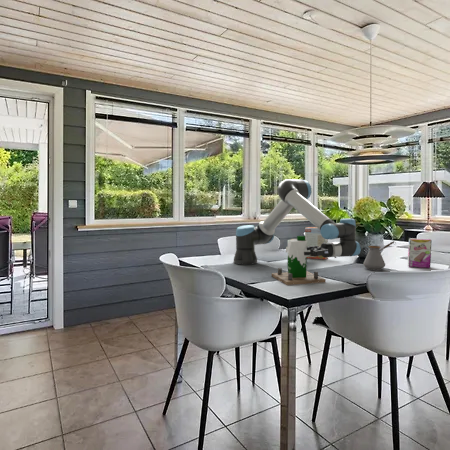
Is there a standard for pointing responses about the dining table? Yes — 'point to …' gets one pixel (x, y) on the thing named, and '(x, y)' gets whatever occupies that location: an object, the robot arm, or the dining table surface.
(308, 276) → the peg board
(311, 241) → the cracker box
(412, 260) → the candy bar box
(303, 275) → the soya milk
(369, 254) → the coffee pot
